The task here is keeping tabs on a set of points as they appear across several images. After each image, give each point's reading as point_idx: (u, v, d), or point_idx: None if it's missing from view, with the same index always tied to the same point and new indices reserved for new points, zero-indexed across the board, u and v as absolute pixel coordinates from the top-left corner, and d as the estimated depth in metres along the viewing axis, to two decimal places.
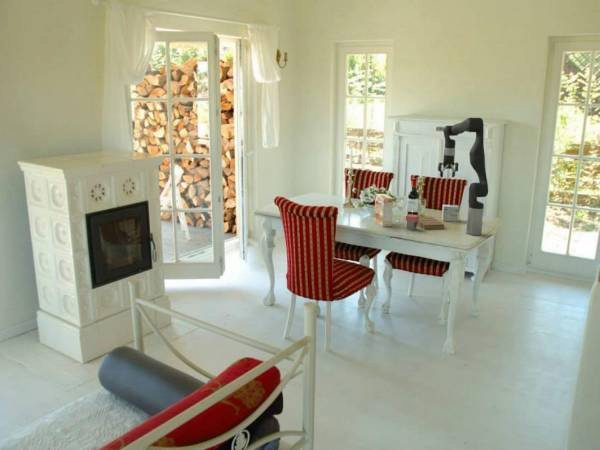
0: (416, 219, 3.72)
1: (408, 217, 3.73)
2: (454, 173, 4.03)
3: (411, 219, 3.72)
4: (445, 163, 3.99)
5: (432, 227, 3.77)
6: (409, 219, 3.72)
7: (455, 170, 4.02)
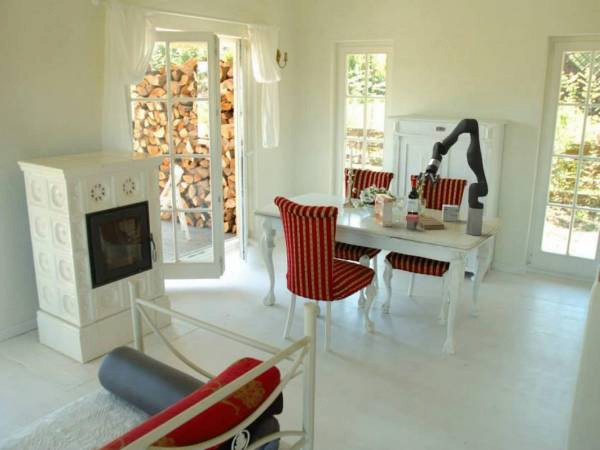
0: (416, 219, 3.72)
1: (408, 217, 3.73)
2: (433, 183, 3.79)
3: (411, 219, 3.72)
4: (425, 173, 3.85)
5: (432, 227, 3.77)
6: (409, 219, 3.72)
7: (435, 181, 3.79)
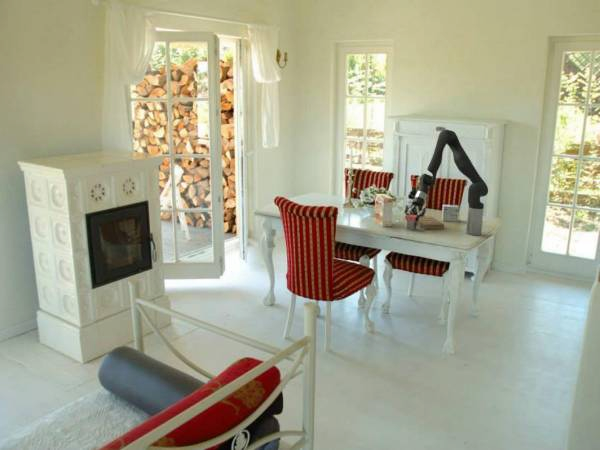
0: None
1: (408, 217, 3.73)
2: (418, 216, 3.72)
3: (411, 219, 3.72)
4: (412, 205, 3.78)
5: (432, 227, 3.77)
6: (409, 219, 3.72)
7: (419, 214, 3.72)
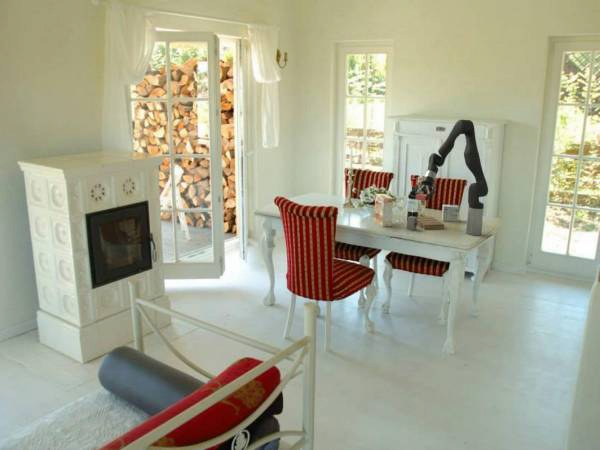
0: None
1: (418, 196, 3.75)
2: (428, 195, 3.74)
3: (421, 198, 3.74)
4: (421, 184, 3.81)
5: (432, 227, 3.77)
6: (419, 198, 3.75)
7: (430, 193, 3.75)
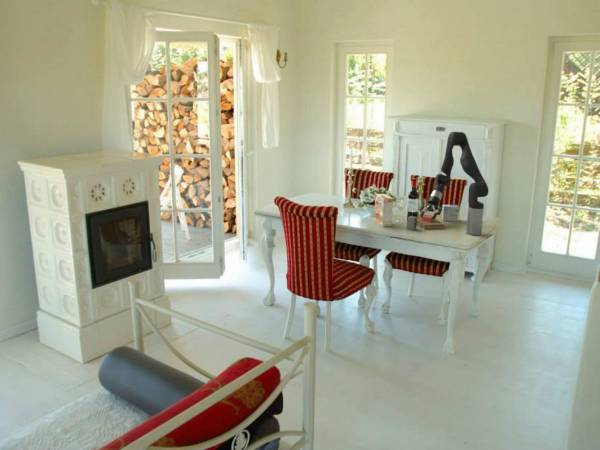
0: (432, 220, 3.85)
1: (424, 218, 3.85)
2: (435, 215, 3.83)
3: (427, 220, 3.84)
4: (427, 204, 3.90)
5: (432, 227, 3.77)
6: (425, 220, 3.84)
7: (437, 212, 3.84)
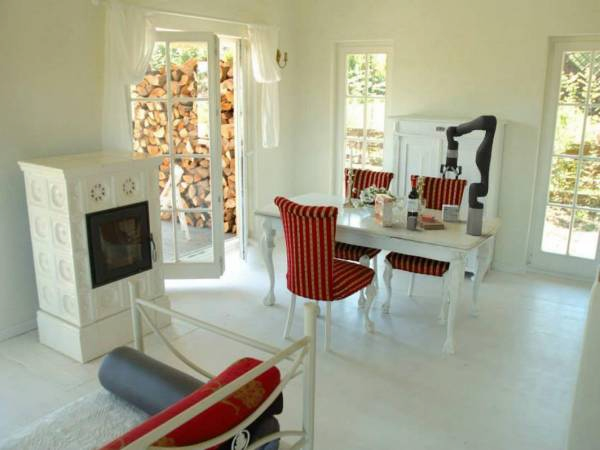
0: (432, 220, 3.85)
1: (424, 218, 3.85)
2: (457, 177, 3.82)
3: (427, 220, 3.84)
4: (446, 165, 3.84)
5: (432, 227, 3.77)
6: (425, 220, 3.84)
7: (458, 174, 3.81)
